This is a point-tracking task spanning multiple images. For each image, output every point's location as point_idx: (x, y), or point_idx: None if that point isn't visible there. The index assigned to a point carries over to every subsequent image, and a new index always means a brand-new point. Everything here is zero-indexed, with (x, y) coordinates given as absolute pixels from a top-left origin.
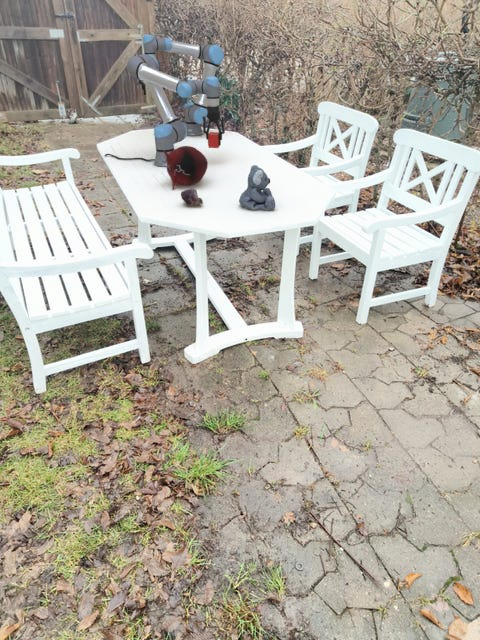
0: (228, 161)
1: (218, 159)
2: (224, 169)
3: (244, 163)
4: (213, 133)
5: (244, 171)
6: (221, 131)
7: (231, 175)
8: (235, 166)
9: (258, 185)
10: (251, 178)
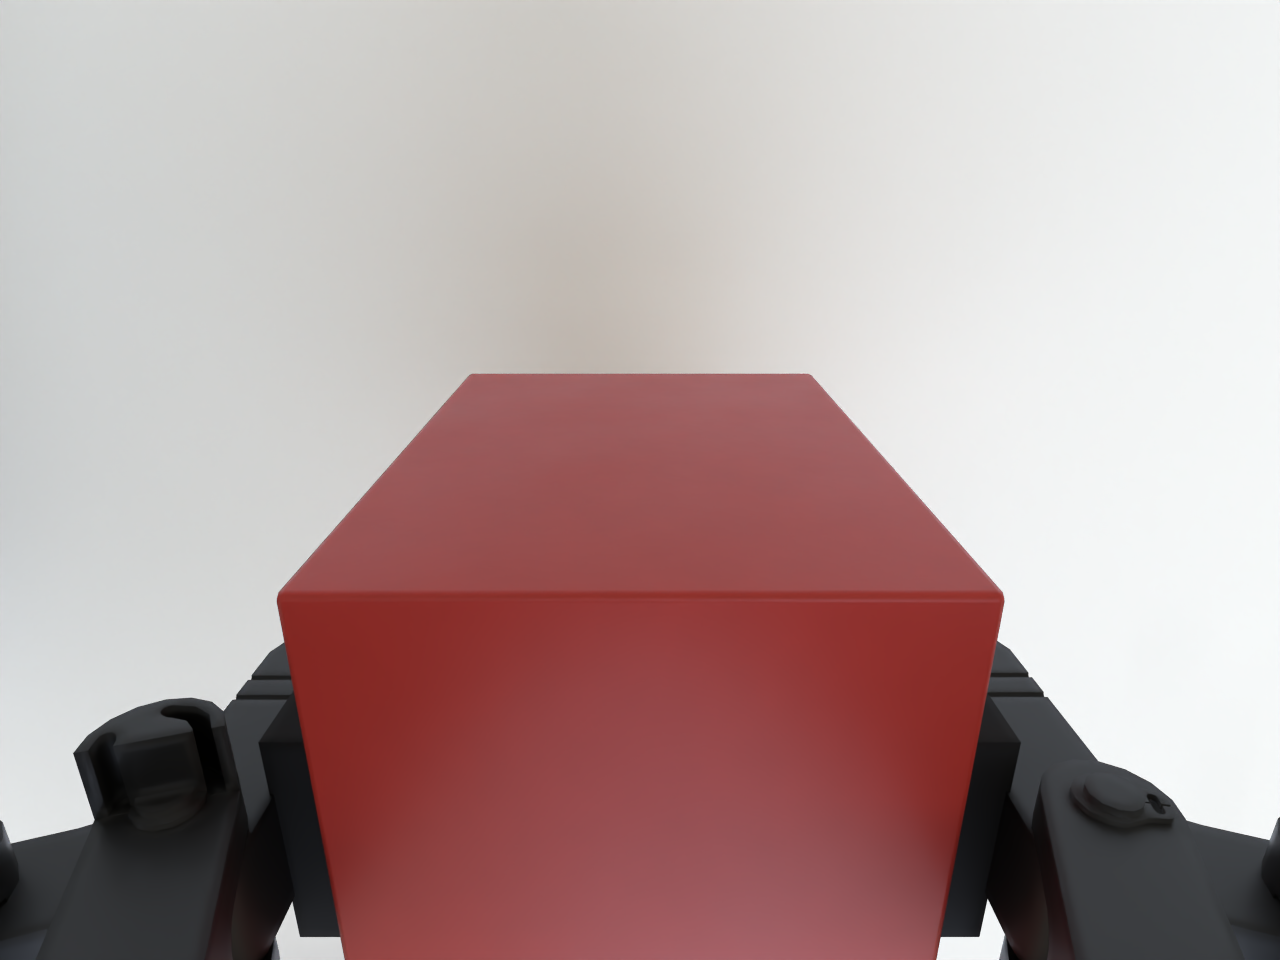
0: (907, 196)
1: (653, 42)
2: None
3: (1257, 312)
4: (613, 920)
5: (1194, 770)
6: (1206, 935)
7: (986, 939)
8: (1056, 534)
9: None
10: None
